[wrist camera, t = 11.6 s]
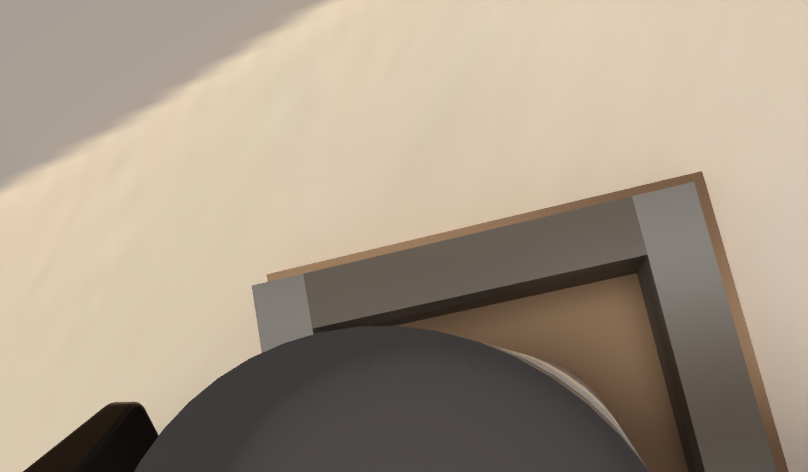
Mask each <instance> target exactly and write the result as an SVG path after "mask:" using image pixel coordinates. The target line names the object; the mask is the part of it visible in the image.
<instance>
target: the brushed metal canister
mask: <svg viewBox="0 0 808 472" xmlns="http://www.w3.org/2000/svg"><path fill="white" fill-rule="evenodd" d="M134 472H650V471H649V470H648V468H647V467H646V465H645V464H644V462H643V461H642V459H641V458H640V456H639V455H638V453H637V452H636V450H635V449H634V447H633V446H632V444H631V443H630V441H629V440H628V438H627V436H626V435H625V433H624V432H623V430H622V429H621V427H620V426H619V424H618V423H617V421H616V420H615V418H614V417H613V415H612V414H611V412H610V411H609V409H608V408H607V406H606V405H605V403H604V402H603V400H602V399H601V398H600V396H599V395H598V394H597V393H596V392H595V390H594V389H593V388H592V387H591V386H590V385H589V384H588V383H586V382H585V381H584V380H583V379H582V378H580V377H579V376H578V375H576V374H575V373H574V372H572V371H570V370H568V369H567V368H565V367H563V366H561V365H558V364H556V363H553V362H551V361H548V360H544V359H540V358H537V357H533V356H529V355H526V354H522V353H518V352H515V351H511V350H507V349H504V348H500V347H496V346H493V345H489V344H485V343H481V342H478V341H474V340H470V339H466V338H462V337H459V336H455V335H451V334H447V333H443V332H439V331H435V330H426V329H418V328H410V327H401V326H363V327H351V328H345V329H339V330H332V331H326V332H320V333H316V334H313V335H309V336H306V337H303V338H299V339H296V340H293V341H289V342H286V343H283V344H281V345H279V346H276V347H274V348H272V349H270V350H268V351H265V352H263V353H261V354H259V355H257V356H254V357H252V358H250V359H248V360H247V361H245V362H244V363H242V364H240V365H239V366H237V367H236V368H234V369H232V370H231V371H229V372H228V373H226V374H224V375H223V376H221V377H220V378H218V379H217V380H216V381H214V382H213V383H212V384H211V385H209V386H208V387H207V388H206V389H205V390H203V391H202V392H201V393H200V394H199V395H197V396H196V397H195V398H194V399H192V400H191V401H190V402H189V403H188V404H187V405H186V406H185V407H184V408H183V409H182V410H181V411H180V412H179V414H178V415H177V416H176V417H175V418H174V419H173V420H172V421H171V422H170V423H169V424H168V425H167V426H166V427H165V428H164V429H163V431H162V432H161V433H160V435H159V436H158V438H157V439H156V440H155V442H154V443H153V444H152V446H151V447H150V448H149V450H148V451H147V453H146V454H145V455H144V457H143V458H142V459H141V461H140V463H139V464H138V466H137V468H136V470H135V471H134Z"/></svg>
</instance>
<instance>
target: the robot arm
mask: <svg viewBox="0 0 808 472" xmlns="http://www.w3.org/2000/svg"><path fill="white" fill-rule="evenodd" d="M158 436H159V435H158V433H157V431H156V429H155V427H154V426H153V424H152V422H151V420H150V418H149V416H148V414H147V412H146V410H145V408H144V407H143V406H142V405H141V404H140V403H138V402H114V403H110V404H108V405H107V406H105V407H104V408H103V409H101V410H100V411H99V412H97V413H96V414H95V415H94V416H92V417H91V418H90V419H89V420H87V421H86V422H85V423H84V424H82V425H81V426H80V427H79V428H77V429H76V430H75V431H74V432H72V433H71V434H70V435H69V436H67V437H66V438H65V439H64V440H62V441H61V442H60V443H58V444H57V445H56V446H55V447H53V448H52V449H51V450H50V451H48V452H47V453H46V454H45V455H43V456H42V457H41V458H40V459H38V460H37V461H36V462H35V463H33V464H32V465H31V466H30V467H28V468H27V469H26V470H25V471H23V472H134V471H135V470H136V468H137V466H138V464H139V463H140V461H141V459H142V458H143V457H144V455H145V454H146V453H147V451H148V450H149V448H150V447H151V446H152V444H153V443H154V442H155V440H156V439H157V438H158Z"/></svg>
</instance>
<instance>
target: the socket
mask: <svg viewBox="0 0 808 472" xmlns="http://www.w3.org/2000/svg"><path fill="white" fill-rule="evenodd" d="M267 279H268V282H265V283H261V284H257V285H253V286H252V290H253V297H254V303H255V310H256V317H257V323H258V330H259V336H260V343H261V350H262V353H263V352H265V351H268V350H270V349H272V348H274V347H276V346H279V345H281V344H283V343H286V342H289V341H293V340H296V339H299V338H303V337H306V336H309V335H313V334H316V333H320V332H326V331H332V330H339V329H345V328H351V327H363V326H401V327H410V328H418V329H426V330H435V331H439V332H443V333H447V334H451V335H455V336H459V337H462V338H466V339H470V340H474V341H478V342H481V343H485V344H489V345H493V346H496V347H500V348H504V349H507V350H511V351H515V352H518V353H522V354H526V355H529V356H533V357H537V358H540V359H544V360H548V361H551V362H553V363H556V364H558V365H561V366H563V367H565V368H567V369H568V370H570V371H572V372H574V373H575V374H576V375H578V376H579V377H580V378H582V379H583V380H584V381H585V382H586V383H588V384H589V385H590V386H591V387H592V388H593V389H594V390H595V392H596V393H597V394H598V395H599V396H600V398H601V399H602V400H603V402H604V403H605V405H606V406H607V408H608V409H609V411H610V412H611V414H612V415H613V417H614V418H615V420H616V421H617V423H618V424H619V426H620V427H621V429H622V430H623V432H624V433H625V435H626V436H627V438H628V440H629V441H630V443H631V444H632V446H633V447H634V449H635V450H636V452H637V453H638V455H639V456H640V458H641V459H642V461H643V462H644V464H645V465H646V467H647V468H648V470H649V471H650V472H788V469H787V465H786V462H785V458H784V455H783V451H782V448H781V444H780V441H779V437H778V434H777V430H776V427H775V424H774V420H773V417H772V413H771V410H770V406H769V403H768V399H767V396H766V392H765V389H764V385H763V382H762V378H761V375H760V371H759V368H758V364H757V361H756V358H755V354H754V351H753V347H752V344H751V340H750V337H749V333H748V330H747V326H746V323H745V319H744V316H743V312H742V309H741V305H740V302H739V298H738V295H737V292H736V288H735V285H734V281H733V278H732V274H731V271H730V267H729V264H728V260H727V257H726V253H725V250H724V246H723V243H722V239H721V236H720V232H719V229H718V226H717V222H716V219H715V215H714V212H713V208H712V205H711V201H710V198H709V194H708V191H707V187H706V184H705V180H704V177H703V173H702V171H701V172H697V173H693V174H689V175H684V176H680V177H676V178H672V179H667V180H663V181H659V182H655V183H651V184H646V185H642V186H638V187H634V188H630V189H625V190H621V191H617V192H613V193H608V194H604V195H600V196H596V197H592V198H587V199H583V200H579V201H575V202H571V203H566V204H562V205H558V206H554V207H549V208H545V209H541V210H537V211H533V212H528V213H524V214H520V215H516V216H512V217H507V218H503V219H499V220H495V221H490V222H486V223H482V224H478V225H474V226H469V227H465V228H461V229H457V230H453V231H448V232H444V233H440V234H436V235H431V236H427V237H423V238H419V239H415V240H410V241H406V242H402V243H398V244H394V245H389V246H385V247H381V248H377V249H372V250H368V251H364V252H360V253H356V254H351V255H347V256H343V257H339V258H334V259H330V260H326V261H322V262H318V263H313V264H309V265H305V266H301V267H297V268H292V269H288V270H284V271H280V272H275V273H271V274H267Z"/></svg>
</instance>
